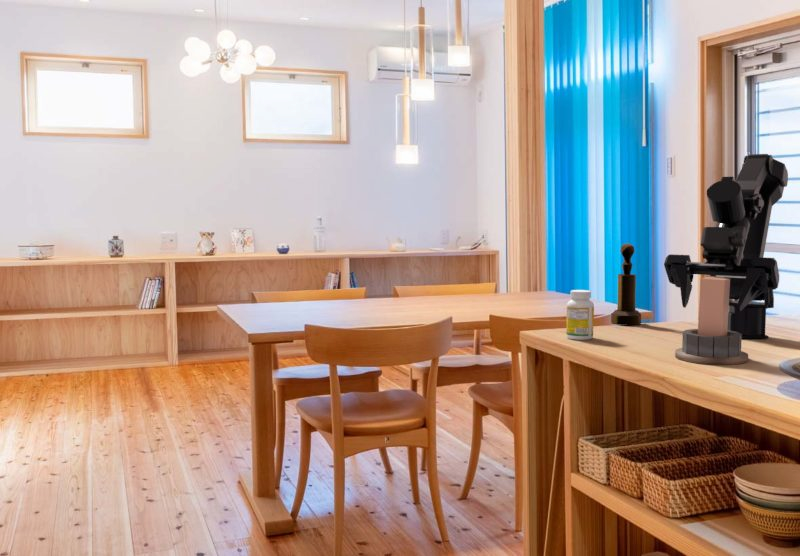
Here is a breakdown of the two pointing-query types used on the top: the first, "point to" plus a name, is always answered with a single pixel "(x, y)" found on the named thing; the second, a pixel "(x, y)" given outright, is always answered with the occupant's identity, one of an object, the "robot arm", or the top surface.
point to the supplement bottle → (580, 315)
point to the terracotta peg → (713, 306)
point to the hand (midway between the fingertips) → (710, 307)
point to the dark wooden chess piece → (626, 292)
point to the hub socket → (711, 348)
